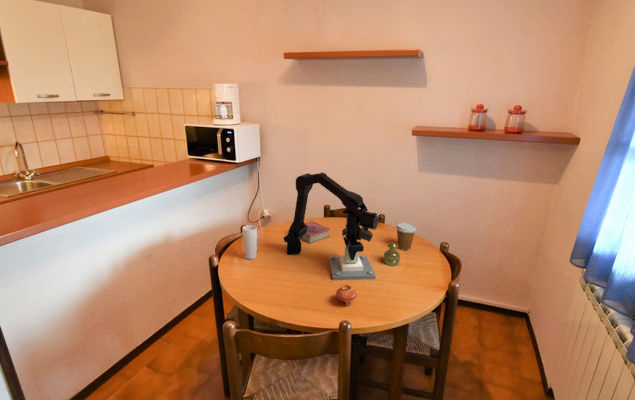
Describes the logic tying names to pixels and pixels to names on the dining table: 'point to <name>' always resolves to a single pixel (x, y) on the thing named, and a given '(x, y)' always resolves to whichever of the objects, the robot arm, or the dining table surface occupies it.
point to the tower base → (351, 273)
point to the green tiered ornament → (392, 255)
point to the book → (315, 232)
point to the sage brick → (347, 257)
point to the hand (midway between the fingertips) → (351, 257)
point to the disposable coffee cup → (405, 235)
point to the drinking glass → (250, 241)
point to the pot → (346, 293)
